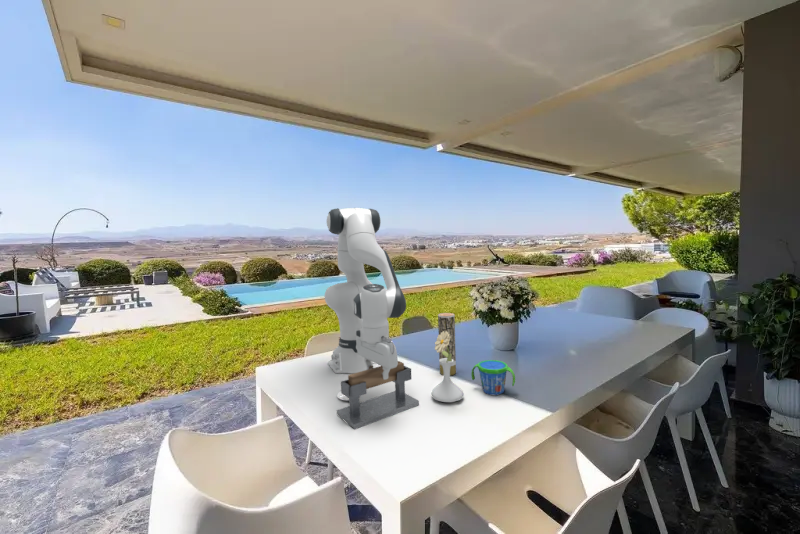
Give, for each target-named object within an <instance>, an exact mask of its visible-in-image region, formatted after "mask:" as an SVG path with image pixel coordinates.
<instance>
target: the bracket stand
mask: <svg viewBox="0 0 800 534" xmlns="http://www.w3.org/2000/svg"><path fill="white" fill-rule="evenodd" d="M411 380H412V368H410V367H408V366H406V365H404V370H402V371H399V372H396V380H394V381H392V383H394V391H391V392H388V393H385V394H382V395H379V396H376V397H372V398H370V399H366V400H364V401H361V402H360V397H361V396H364V395H367V389H366V382H362V383H358V384H355V385H352V386H350V385H349V383H348V379H345V380H341V381H340V391H341V393H342V394H343V395H345V397H346V398H347V399H348V400H349V402H348V403H349V405H348V406H346V407H343V408H339V409H337V410H336V415H337V414H338V415H339V416H340V417H341V418H340V417H339V416H338V415H337V416H338V417H339V418H340V419H341V420H343V419H344V420H345V421H346V422H347V423H348V424H347V423H346V422H345V421H344V420H343V421H344V422H345V423H346V424H347V425H349V426H350V427H351V426H352V427H353V428H354V430H357V429H359V428H361V427H364V426H367V425H369V424H370V425H371V424H372V423H375V422H377V421H378V422H379V421H381V420H383V419H386V418H388V417H391V416H393V415H396V414H398V413H402V412H404V411H407V410H409V409H412V408H415V407H418V406H420V400H418V399H416V398H415V397H413V396H411V395H409V394H407V393H406V387H405V386H406V384H405V382H408V381H411ZM352 427H351V428H352ZM353 428H352V429H353ZM356 428H357V429H356Z"/></svg>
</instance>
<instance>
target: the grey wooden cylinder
mask: <svg viewBox="0 0 800 534" xmlns="http://www.w3.org/2000/svg"><path fill="white" fill-rule="evenodd" d="M455 317H456V315H455V313H453V312H452V313H451V312H441V313H439V314H437V318H438V319H437V320H438V321H437V323H438V324H437V325H438V327H437V328H438V335H440V334H441V332H443V331H444V333H445V332H446V331H447V332H448V334H449V336H450V341H449V345H447V347H448V349H449V353H448V349H447V348H446V349H445V351H446V352H447V353H448V354H451V359H453V360H454V361H453V362H452V364H451V367H450V377H451V376H454V375H456V373H457V366H456V365H457V364H456V363H457V362H456V361H457V360H456V359H457V358H456V357H457V355H456V353H457V352H456V320H455V319H456V318H455ZM438 357H439V360H440V359H442V358H448V357H446V356H444V355H443V354H442V352H440V353H439V352H438ZM439 360H438V361H439ZM439 373H440V374H441V375H442V376H444V372H443V367H442V364H441V362H440V361H439Z"/></svg>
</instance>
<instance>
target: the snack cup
mask: <svg viewBox="0 0 800 534" xmlns="http://www.w3.org/2000/svg"><path fill="white" fill-rule="evenodd" d="M476 368H477V370H478V372H479V377H480V383H481V388H482V391H483V392H484V393H485V394H486V395H491V396H499V395H501V394H504V391H505V385H506V380H507V379H506V377H507V372H510V374H511V377H512V383H511V384H512V387H514V385H515V383H516V375H515V372H514V370H513V369H512V368H511V367H510V366H508V364H507V363H506V362H504V361H501V360H496V359H490V360H489V359H488V360H482V361H479V362H478V363H476V364H475V365H474V366H473V367H472V369H471V373H470V375H471V380H472V381H474V380H475V378H476V377H475V371H474V370H475V369H476Z"/></svg>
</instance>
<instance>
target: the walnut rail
mask: <svg viewBox="0 0 800 534" xmlns="http://www.w3.org/2000/svg"><path fill="white" fill-rule="evenodd" d="M404 366H405V363H404V362H401V361H399V360H398V365H397V367H396V368H392V369H390V371H389V373H388V379H386V380H384V379H383V378H382V376H381V373H383V371H384V370H383V367H382V366H380V365H378V366H377V367H373V368H372V369H368V370H365V371H361V372H358V373H349V374H348V375H347V380H348V383H349V385H350V386H352V385H355V384H358V383H362V382H366V390H369V389H372V388H374V387H375V388H376V387H378V386H381V385H384V384H387V383H391V382H393V381H394V380H396V372H399V371H402V370H404Z"/></svg>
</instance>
